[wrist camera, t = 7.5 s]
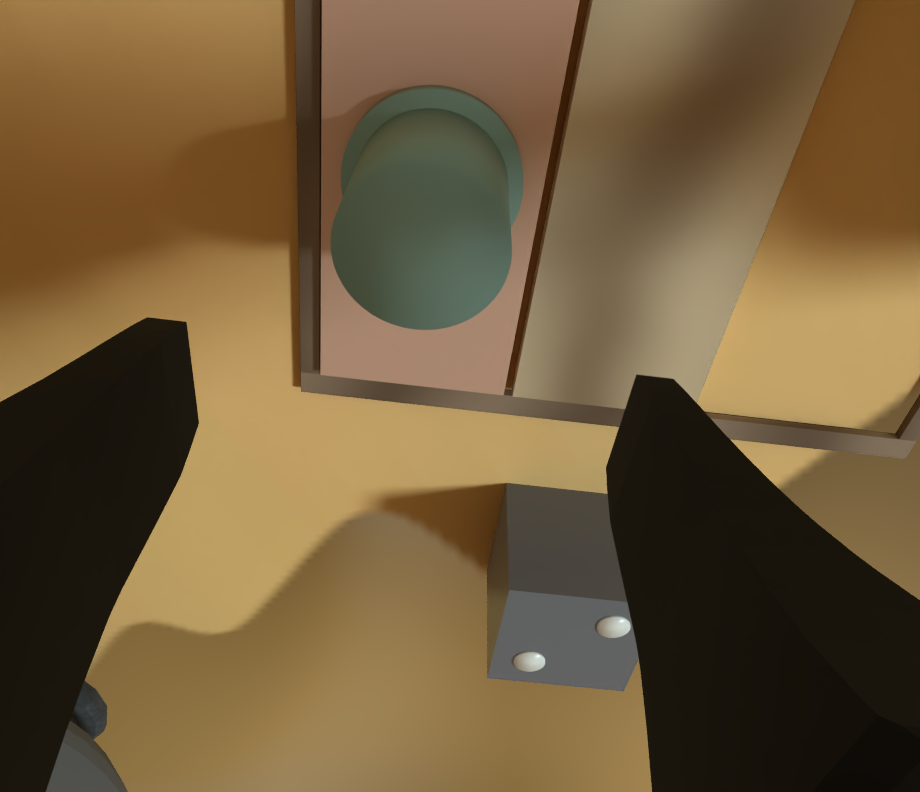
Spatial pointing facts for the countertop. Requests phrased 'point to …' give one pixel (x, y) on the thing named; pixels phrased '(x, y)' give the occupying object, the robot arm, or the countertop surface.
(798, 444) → the board
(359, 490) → the countertop surface
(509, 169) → the teal flanged knob
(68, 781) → the pitcher
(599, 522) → the die
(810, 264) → the countertop surface
